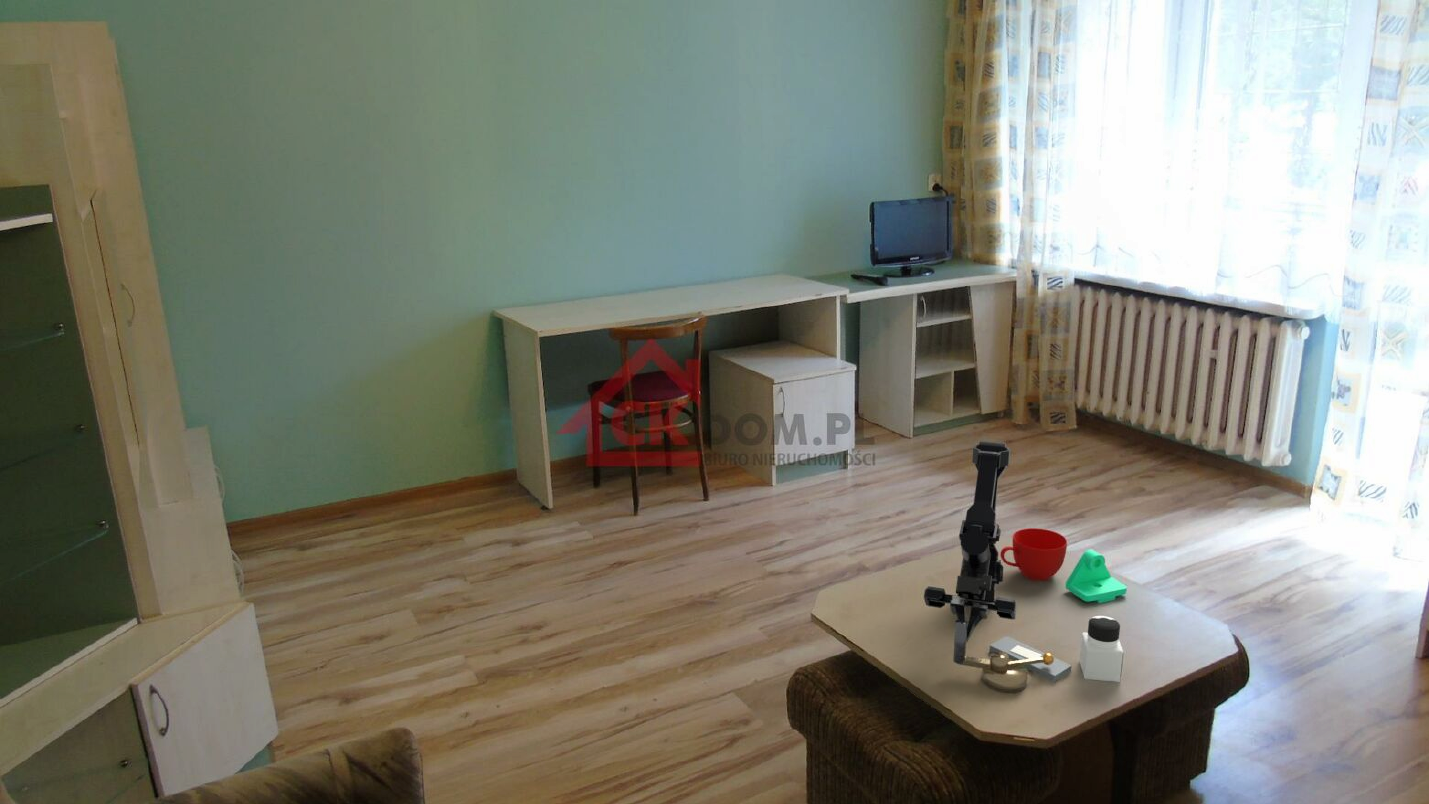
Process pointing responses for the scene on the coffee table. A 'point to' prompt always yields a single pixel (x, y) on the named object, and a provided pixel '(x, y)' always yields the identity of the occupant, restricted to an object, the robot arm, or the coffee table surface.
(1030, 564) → the ceramic cup
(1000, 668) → the crank handle
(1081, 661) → the medicine bottle
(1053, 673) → the plate
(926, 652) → the coffee table surface
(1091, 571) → the camera mount
